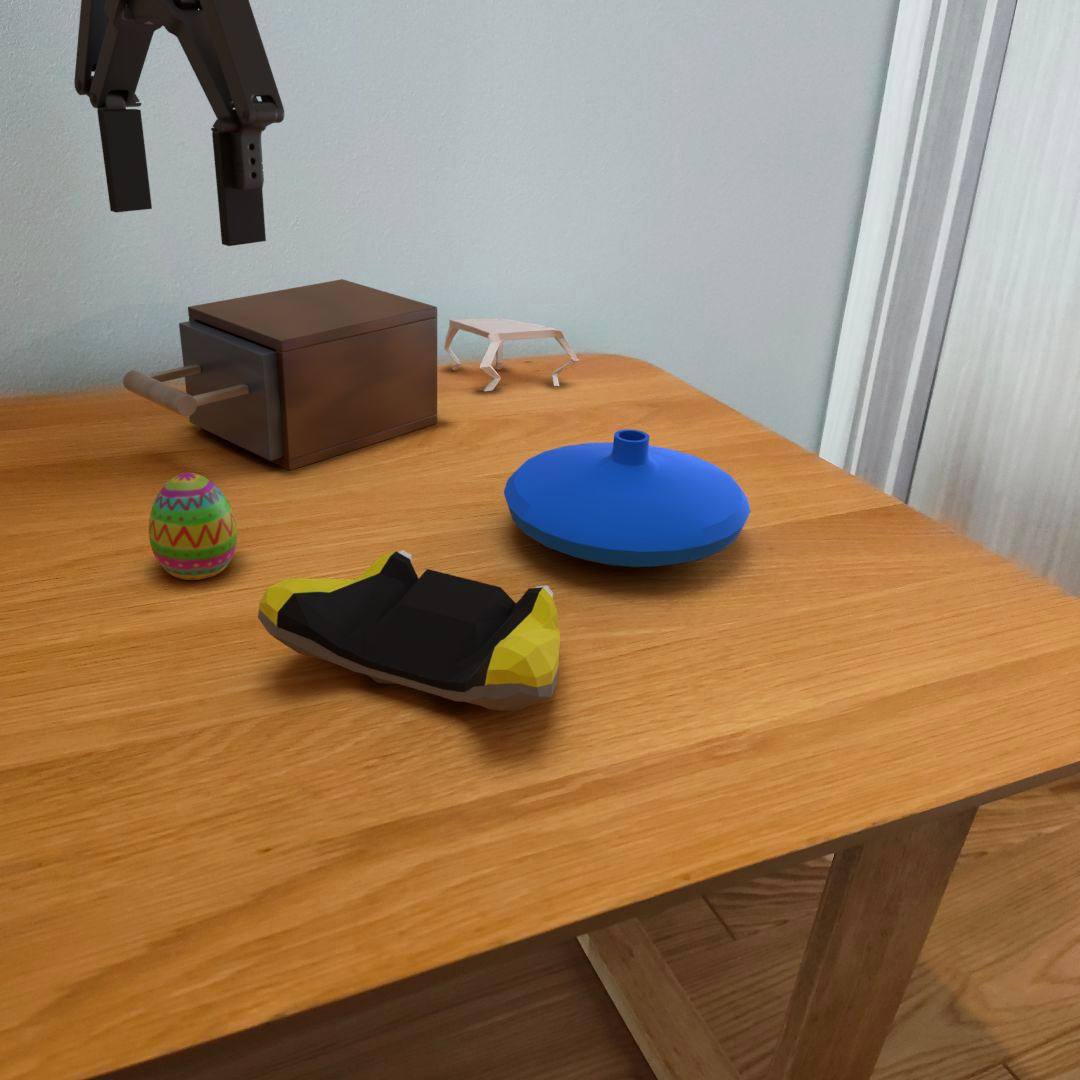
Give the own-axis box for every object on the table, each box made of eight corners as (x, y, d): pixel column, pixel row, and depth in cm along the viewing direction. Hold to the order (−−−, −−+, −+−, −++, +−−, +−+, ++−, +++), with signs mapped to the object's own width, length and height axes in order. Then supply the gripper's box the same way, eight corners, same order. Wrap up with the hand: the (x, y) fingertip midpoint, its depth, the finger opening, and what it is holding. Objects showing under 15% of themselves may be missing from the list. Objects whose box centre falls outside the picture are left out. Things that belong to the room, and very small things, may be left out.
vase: (473, 574, 64) (475, 466, 61) (533, 475, 78) (537, 383, 74) (737, 613, 61) (753, 502, 58) (750, 504, 75) (764, 409, 72)
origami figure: (445, 394, 93) (445, 339, 91) (443, 364, 100) (444, 313, 98) (580, 395, 94) (584, 341, 92) (569, 366, 102) (572, 316, 99)
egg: (144, 587, 61) (130, 491, 58) (165, 548, 65) (153, 457, 62) (231, 587, 61) (222, 492, 58) (246, 548, 65) (238, 458, 63)
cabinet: (289, 470, 76) (281, 340, 72) (199, 427, 83) (187, 306, 79) (437, 423, 86) (437, 306, 82) (346, 388, 93) (342, 278, 89)
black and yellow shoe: (525, 775, 47) (600, 664, 56) (529, 672, 45) (608, 572, 53) (246, 689, 52) (354, 598, 61) (237, 592, 50) (351, 511, 58)
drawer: (198, 483, 72) (186, 372, 68) (119, 440, 78) (104, 336, 74) (411, 417, 85) (410, 321, 81) (329, 385, 91) (325, 295, 87)
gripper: (335, -158, 56) (349, 251, 65) (98, -138, 70) (138, 193, 80) (209, -179, 51) (245, 267, 60) (-17, -154, 65) (40, 202, 75)
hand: (184, 226), depth 70 cm, fingers open, 13 cm apart
